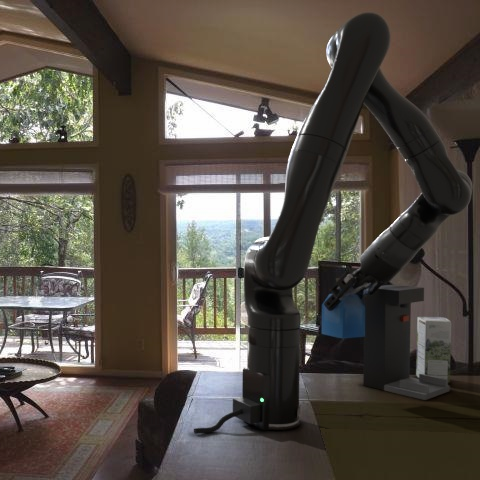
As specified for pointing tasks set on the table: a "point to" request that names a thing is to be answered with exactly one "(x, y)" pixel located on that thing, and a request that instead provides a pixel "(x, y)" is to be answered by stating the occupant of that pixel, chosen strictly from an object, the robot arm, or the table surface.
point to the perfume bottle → (344, 318)
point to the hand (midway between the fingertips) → (337, 306)
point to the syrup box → (433, 347)
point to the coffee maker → (394, 344)
